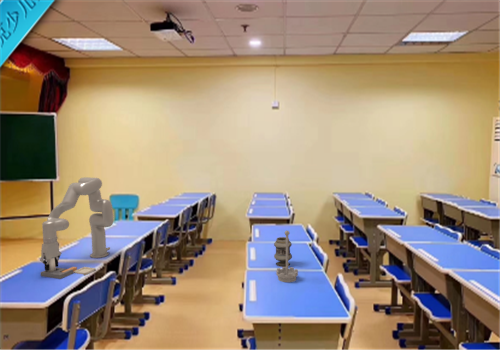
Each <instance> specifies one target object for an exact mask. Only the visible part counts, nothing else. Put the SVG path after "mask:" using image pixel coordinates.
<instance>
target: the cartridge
mask: <svg viewBox="0 0 500 350" xmlns="http://www.w3.org/2000/svg"><path fill="white" fill-rule="evenodd" d="M48 264H49V270H48V272H54V271H56V267H55V258H54V257H52V258H51V259H49V263H48Z"/></svg>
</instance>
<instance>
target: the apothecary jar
mask: <svg viewBox="0 0 500 350" xmlns="http://www.w3.org/2000/svg"><path fill="white" fill-rule="evenodd" d="M273 247H275V253H274V254H273V257H274V259H275V260H276V261H277V262H276V263H275V265H276V266H277V267H279V268H280V267H281V268H282V267H286V236H280V237H277V238H276V240H275V241H274V243H273ZM291 247H292V242H291V241H290V238H289V237H288V267H290V265H291V263H290V262H289V261H290V260H292V258H293V254H291Z"/></svg>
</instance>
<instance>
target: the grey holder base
mask: <svg viewBox="0 0 500 350" xmlns="http://www.w3.org/2000/svg"><path fill="white" fill-rule="evenodd" d="M66 269H67V268H65V267H64V268H62V267H56V271H54V272H48V270H45V269H44V270H43V271H40V277H43V278H49V279H50V278H52V279H55V280H57V279H58V280H63V279H64V278H67V277H68V276H69V277H70V276H71V275H73V274H74V272H73V270H68V271H66V272H64V273H63V272H62V271H64V270H66Z"/></svg>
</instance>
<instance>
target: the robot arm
mask: <svg viewBox="0 0 500 350" xmlns="http://www.w3.org/2000/svg"><path fill="white" fill-rule="evenodd" d="M102 187H103V182H102V179H100V178H98V177H86V176H85V177H81V178H79V179H78V182H72V183H71V184H69V186H68V188H67V190H66V191H65V192H66V193H65V195H63V198H62V200H61V202H60V203H59V204H58V205H56V206H55V207H54V208H53V209H52V210H51V211H50V213H49V215H48V217H47V220H46V221H45V220H44V221H43V222H42V223H41V225H42V228H41V229H42V240H43V243H41V250H40V251H41V253H40V254H41V258H40V259H39V261H40V262H41V263H42V264H43V265H44V271H45V270H49V264H48V263H49V259H51V258H52V257H54V258H55V267H57V268H59V260H60V257H61V256H62V252H61V251H60V247H59V242H58V236H57V232H59V231H61V232H62V231H65V230H67V229H68V228H69V226H70V222H69V220H68V219H66V218H60V216H61V215H62V214H64V213H65V212H67V211H69V210H71V209H73V208H75V206H76V205H77V202H78V201H79V198H80V196H87V197H88V203H89V209H90V211H92V212H93V213H92V214H91V215H90V216H89V219H88V220H89V226H90V230H91V231H90V232H91V250H92V251H91V254H90V255H89V257H90V258H91V259H98V258H99V259H100V258H101V259H102V258H105V257H107V256H109V251H110V250H111V247H110V246H109V247H108V246H107V237H106V229H105V228H110V227H111V226H113V223H114V213H113V212H114V211H113V204H112V202H111V201H110V200H109V199H103V197H102V193H101V188H102Z"/></svg>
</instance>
